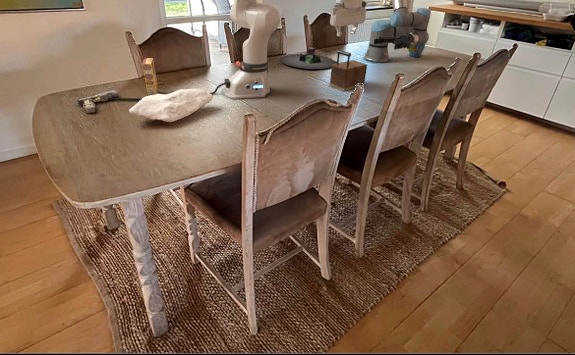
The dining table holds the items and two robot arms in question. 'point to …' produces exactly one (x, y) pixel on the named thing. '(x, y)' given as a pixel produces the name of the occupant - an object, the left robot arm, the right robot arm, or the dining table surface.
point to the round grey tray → (308, 60)
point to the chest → (347, 78)
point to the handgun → (95, 100)
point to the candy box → (150, 76)
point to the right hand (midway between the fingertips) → (384, 44)
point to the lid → (347, 62)
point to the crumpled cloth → (171, 104)
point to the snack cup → (416, 50)
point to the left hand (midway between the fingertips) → (346, 35)
